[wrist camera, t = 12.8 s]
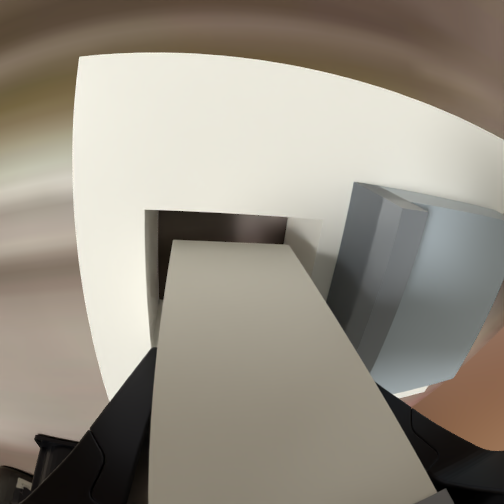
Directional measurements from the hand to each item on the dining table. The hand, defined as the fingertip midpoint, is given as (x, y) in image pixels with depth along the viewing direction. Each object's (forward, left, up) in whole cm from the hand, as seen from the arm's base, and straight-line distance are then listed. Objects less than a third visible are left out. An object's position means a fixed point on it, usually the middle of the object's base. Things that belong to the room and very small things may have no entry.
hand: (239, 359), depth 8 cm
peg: (0, 0, -4) cm, 4 cm away
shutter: (+8, 0, -3) cm, 9 cm away
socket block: (+4, 0, -7) cm, 8 cm away
